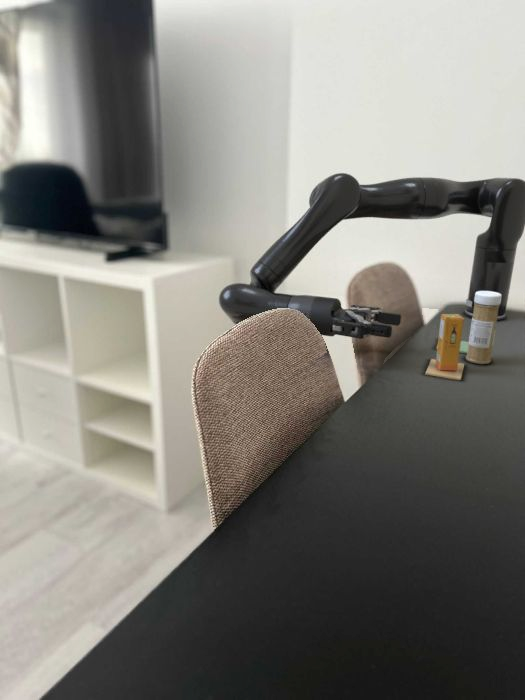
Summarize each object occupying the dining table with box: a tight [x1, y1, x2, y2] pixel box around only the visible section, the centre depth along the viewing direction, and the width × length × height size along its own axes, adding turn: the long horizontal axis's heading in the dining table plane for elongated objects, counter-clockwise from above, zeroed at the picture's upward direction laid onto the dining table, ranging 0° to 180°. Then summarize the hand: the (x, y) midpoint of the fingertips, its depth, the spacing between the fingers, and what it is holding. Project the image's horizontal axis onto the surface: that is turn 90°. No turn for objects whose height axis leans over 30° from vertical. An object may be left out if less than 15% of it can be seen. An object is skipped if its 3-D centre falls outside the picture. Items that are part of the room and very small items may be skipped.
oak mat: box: [424, 358, 465, 381], centre depth 94 cm, size 8×6×1 cm
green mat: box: [435, 340, 469, 354], centre depth 107 cm, size 7×6×1 cm
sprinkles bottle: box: [465, 291, 502, 365], centre depth 97 cm, size 5×5×13 cm
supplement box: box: [435, 313, 465, 371], centre depth 92 cm, size 3×3×10 cm
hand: (396, 325), depth 96 cm, fingers open, 8 cm apart
